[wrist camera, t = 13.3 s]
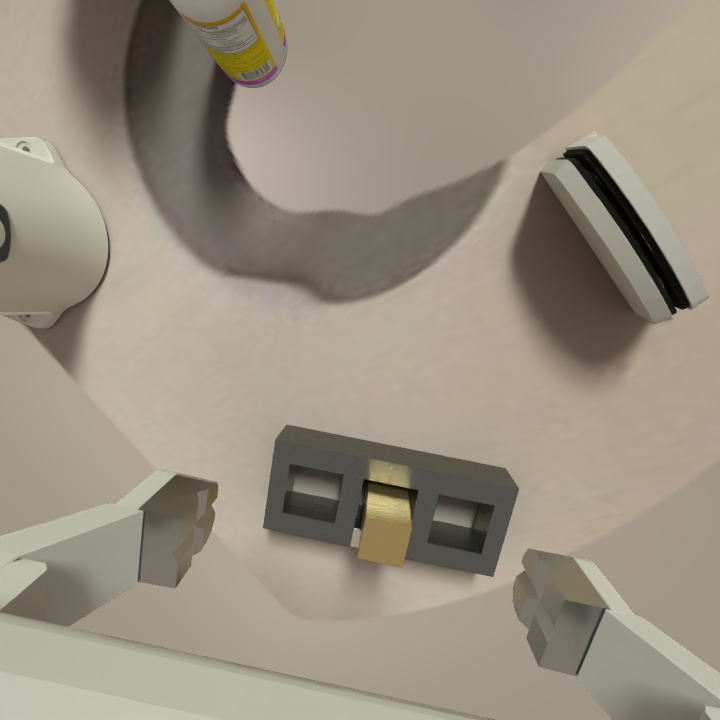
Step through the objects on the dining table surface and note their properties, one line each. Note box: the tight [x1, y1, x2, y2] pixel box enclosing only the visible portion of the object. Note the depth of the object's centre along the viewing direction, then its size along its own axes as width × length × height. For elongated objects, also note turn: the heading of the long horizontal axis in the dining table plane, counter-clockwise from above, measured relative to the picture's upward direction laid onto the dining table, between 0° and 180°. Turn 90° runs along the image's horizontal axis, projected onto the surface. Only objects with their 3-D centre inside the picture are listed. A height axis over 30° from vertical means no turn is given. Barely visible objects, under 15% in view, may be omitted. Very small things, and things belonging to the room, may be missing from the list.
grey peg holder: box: [263, 425, 519, 577], centre depth 37 cm, size 24×10×4 cm, turn 80°
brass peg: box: [358, 480, 412, 568], centre depth 35 cm, size 4×4×9 cm
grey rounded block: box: [540, 131, 709, 324], centre depth 29 cm, size 17×5×10 cm, turn 38°
